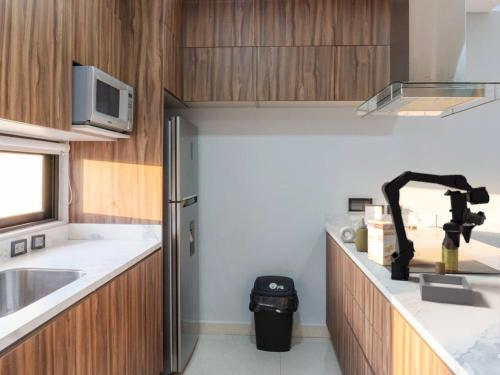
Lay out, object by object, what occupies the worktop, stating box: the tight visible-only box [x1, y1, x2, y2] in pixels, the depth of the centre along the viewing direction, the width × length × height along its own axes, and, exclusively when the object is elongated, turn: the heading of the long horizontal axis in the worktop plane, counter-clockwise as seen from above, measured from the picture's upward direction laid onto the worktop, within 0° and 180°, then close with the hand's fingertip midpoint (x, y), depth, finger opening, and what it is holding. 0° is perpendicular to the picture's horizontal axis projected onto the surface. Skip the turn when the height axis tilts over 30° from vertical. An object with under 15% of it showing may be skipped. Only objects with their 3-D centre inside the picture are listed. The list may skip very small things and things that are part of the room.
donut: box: [338, 226, 356, 244], centre depth 235 cm, size 10×4×10 cm, turn 75°
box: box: [418, 272, 474, 306], centre depth 134 cm, size 15×17×5 cm
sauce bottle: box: [441, 231, 459, 274], centre depth 164 cm, size 6×6×20 cm
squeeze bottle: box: [354, 217, 368, 253], centre depth 210 cm, size 8×8×18 cm
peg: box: [434, 261, 446, 275], centre depth 147 cm, size 4×4×8 cm
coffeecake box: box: [367, 219, 396, 266], centre depth 184 cm, size 15×7×20 cm, turn 9°
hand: (462, 245), depth 152 cm, fingers open, 9 cm apart
